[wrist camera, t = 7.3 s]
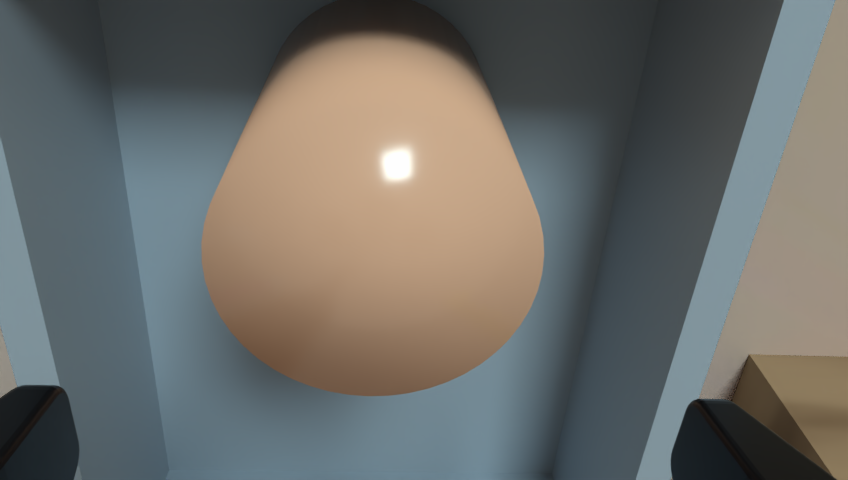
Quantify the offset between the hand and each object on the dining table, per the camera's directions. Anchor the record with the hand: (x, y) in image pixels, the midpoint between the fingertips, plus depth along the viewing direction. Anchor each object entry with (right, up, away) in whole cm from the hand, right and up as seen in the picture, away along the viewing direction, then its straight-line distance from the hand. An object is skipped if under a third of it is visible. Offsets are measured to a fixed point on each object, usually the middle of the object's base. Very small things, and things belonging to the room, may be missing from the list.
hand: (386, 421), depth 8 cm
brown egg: (-1, +5, +9) cm, 10 cm away
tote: (-1, +2, +11) cm, 12 cm away
